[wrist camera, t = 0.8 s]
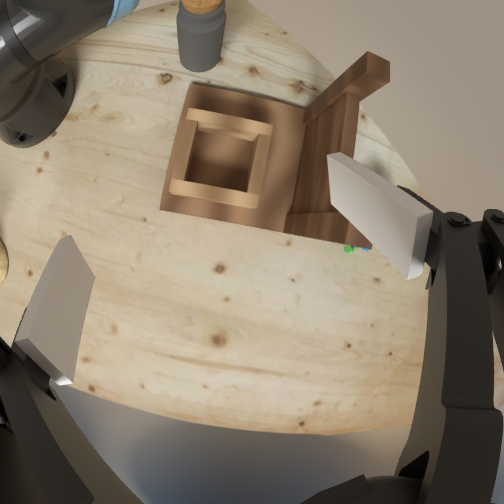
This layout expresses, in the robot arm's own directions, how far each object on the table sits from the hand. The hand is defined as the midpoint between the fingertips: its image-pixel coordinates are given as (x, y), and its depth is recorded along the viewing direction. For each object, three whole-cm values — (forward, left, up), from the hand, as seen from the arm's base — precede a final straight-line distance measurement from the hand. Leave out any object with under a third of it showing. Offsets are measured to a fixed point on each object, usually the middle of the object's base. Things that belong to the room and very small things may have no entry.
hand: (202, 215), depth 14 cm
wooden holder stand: (-2, +10, -25) cm, 27 cm away
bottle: (-17, +18, -26) cm, 35 cm away
